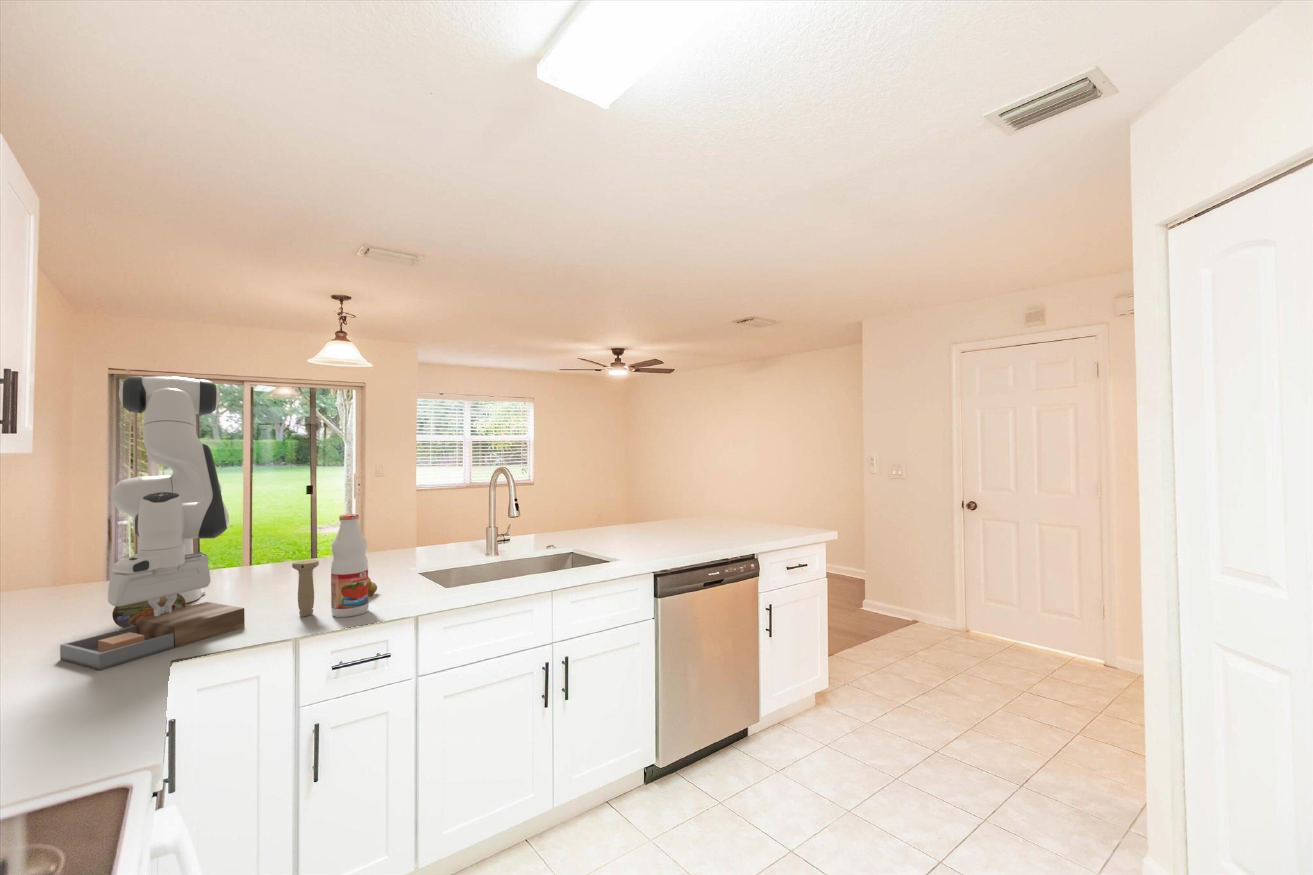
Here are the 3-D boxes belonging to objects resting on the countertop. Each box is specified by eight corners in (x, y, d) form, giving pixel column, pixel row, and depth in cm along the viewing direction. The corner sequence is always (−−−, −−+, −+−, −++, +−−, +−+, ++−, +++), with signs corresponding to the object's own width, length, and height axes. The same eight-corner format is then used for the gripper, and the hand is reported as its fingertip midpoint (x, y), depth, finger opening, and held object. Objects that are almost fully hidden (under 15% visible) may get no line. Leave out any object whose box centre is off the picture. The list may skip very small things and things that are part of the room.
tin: (112, 631, 151) (111, 599, 151) (116, 627, 154) (116, 596, 154) (184, 622, 158) (184, 591, 158) (187, 618, 161) (187, 588, 161)
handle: (315, 616, 161) (315, 563, 161) (290, 618, 160) (289, 564, 160) (321, 611, 166) (321, 559, 166) (296, 613, 165) (296, 560, 164)
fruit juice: (352, 606, 171) (351, 512, 171) (376, 609, 167) (374, 513, 167) (323, 615, 162) (322, 516, 162) (348, 619, 159) (346, 517, 158)
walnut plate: (136, 639, 144) (136, 619, 144) (206, 619, 159) (206, 601, 159) (175, 647, 138) (174, 626, 138) (244, 626, 153) (244, 607, 153)
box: (60, 659, 131) (60, 644, 131) (135, 639, 144) (134, 625, 144) (99, 670, 125) (99, 654, 125) (173, 648, 138) (173, 633, 138)
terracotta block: (129, 632, 139) (130, 644, 139) (98, 640, 133) (98, 653, 134) (144, 635, 137) (144, 647, 137) (112, 643, 131) (112, 656, 131)
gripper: (200, 549, 154) (201, 601, 154) (103, 566, 135) (104, 625, 135) (215, 551, 151) (216, 604, 151) (118, 568, 132) (119, 628, 132)
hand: (162, 614), depth 143 cm, fingers closed
